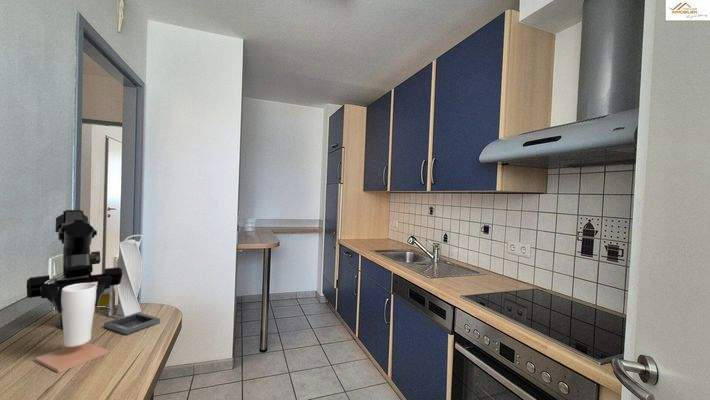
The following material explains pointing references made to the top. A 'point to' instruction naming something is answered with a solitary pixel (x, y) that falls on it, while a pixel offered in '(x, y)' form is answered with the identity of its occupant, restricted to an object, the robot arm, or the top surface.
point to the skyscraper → (127, 279)
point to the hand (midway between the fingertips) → (78, 309)
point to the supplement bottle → (104, 300)
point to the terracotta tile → (70, 356)
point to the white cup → (78, 313)
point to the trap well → (131, 323)
